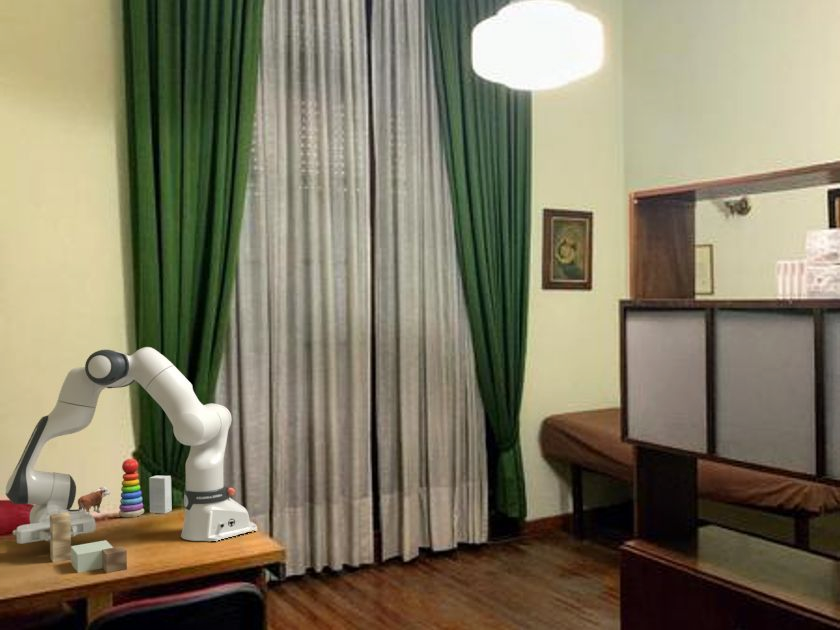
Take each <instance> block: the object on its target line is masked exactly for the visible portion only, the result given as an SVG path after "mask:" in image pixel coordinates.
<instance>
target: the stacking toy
mask: <svg viewBox="0 0 840 630" xmlns="http://www.w3.org/2000/svg"><path fill="white" fill-rule="evenodd" d="M121 467H122V468H121V469H122V471H123V473H124V474H123V475H122V481H121V485H122V487H120V490H121V493H120V497H121V498H120V500H119V503H120V504H119V507H118V508H119V511H118V515H119V516H120V517H121V518H135V517H138V516H141V515H143V514H144V513H145V509H144V504H143V503H144V502H143V496H142V493H143V492H142V490H140V489H141V486H140V479H139V476H140V474H139V473H138V472H137V470H138V469H139V463H138V461H137V460H136V459H134V458H127V459H126V460H124V461H123V463H122V465H121Z"/></svg>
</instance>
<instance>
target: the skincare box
mask: <svg viewBox="0 0 840 630" xmlns="http://www.w3.org/2000/svg"><path fill="white" fill-rule="evenodd" d="M148 481H149V483H148V484H149V486H148V487H149V513H150V514H164V515H165V514H168V513H170V512H172V509H173V508H172V507H173V506H172V505H173V504H172V500H173V499H172V477H171V475H154V476H151V477H149V478H148Z"/></svg>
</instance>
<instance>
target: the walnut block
mask: <svg viewBox="0 0 840 630" xmlns="http://www.w3.org/2000/svg"><path fill="white" fill-rule="evenodd" d="M127 552H128V551H127V550H126V548H125V547H124V546H123V545H122V546H116V547H113V548H109V549H103V550H102V568H101V569H102V570H103V571H104V572H105V573H106V574H112V573H116V572H121V571H127V570H128V561H127V560H128V556H127V555H128V553H127Z"/></svg>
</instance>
